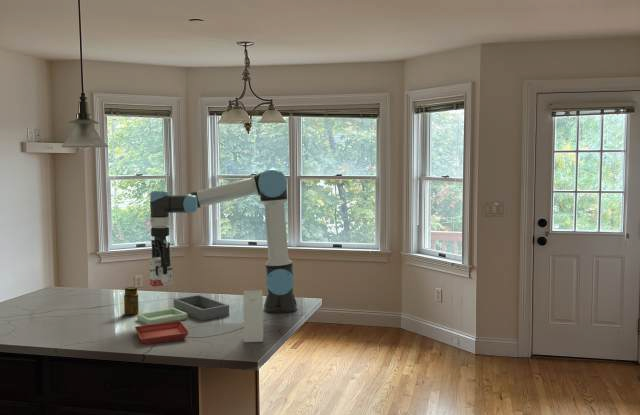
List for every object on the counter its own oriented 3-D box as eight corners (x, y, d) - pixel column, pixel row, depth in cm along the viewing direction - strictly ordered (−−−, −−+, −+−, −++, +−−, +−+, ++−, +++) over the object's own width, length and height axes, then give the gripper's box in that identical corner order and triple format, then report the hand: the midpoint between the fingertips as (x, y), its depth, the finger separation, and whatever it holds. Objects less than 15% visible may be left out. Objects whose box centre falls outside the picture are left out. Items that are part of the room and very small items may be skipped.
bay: (229, 315, 263) (229, 305, 263) (202, 320, 254) (201, 310, 254) (199, 304, 284) (199, 294, 283) (173, 308, 275) (173, 299, 275)
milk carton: (244, 337, 230) (243, 288, 228) (263, 336, 230) (262, 288, 229) (244, 342, 223) (243, 292, 221) (263, 342, 223) (262, 292, 222)
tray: (187, 319, 257) (187, 313, 256) (150, 326, 246) (150, 320, 246) (174, 313, 266) (173, 307, 266) (137, 320, 256) (137, 314, 255)
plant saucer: (140, 347, 220) (140, 338, 219) (134, 334, 236) (134, 326, 236) (189, 340, 227) (189, 332, 227) (180, 328, 243) (180, 320, 243)
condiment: (139, 311, 270) (138, 285, 269) (140, 316, 262) (139, 289, 261) (122, 313, 267) (121, 287, 266) (123, 318, 259) (122, 290, 259)
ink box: (153, 286, 250) (152, 259, 250) (149, 284, 255) (149, 257, 254) (173, 284, 255) (172, 257, 254) (169, 282, 259) (168, 255, 258)
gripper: (142, 225, 258) (144, 278, 259) (160, 229, 244) (162, 285, 245) (159, 224, 262) (160, 276, 264) (177, 228, 248) (179, 282, 250)
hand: (161, 280), depth 255 cm, fingers closed on ink box, 5 cm apart
